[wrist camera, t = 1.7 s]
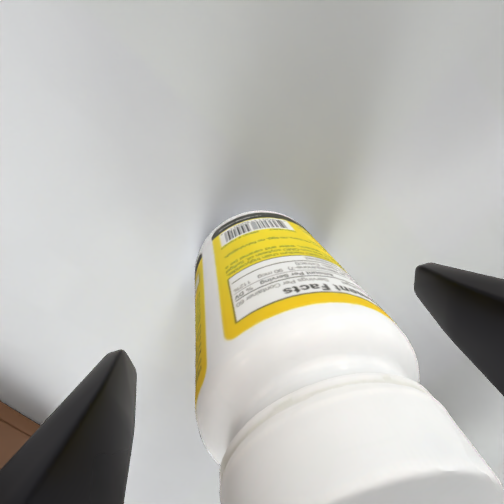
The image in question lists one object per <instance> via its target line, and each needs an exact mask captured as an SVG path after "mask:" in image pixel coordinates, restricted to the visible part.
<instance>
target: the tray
mask: <svg viewBox="0 0 504 504" xmlns="http://www.w3.org/2000/svg"><path fill="white" fill-rule="evenodd" d="M39 427H40V425H39V424H37V423H35V422H34V421H32V420H30V419H29V418H27V417H26V416H24V415H22V414H21V413H19V412H17V411H16V410H14V409H12V408H11V407H9V406H8V405H6V404H4V403H3V402H1V401H0V469H1V468H2V467H3V466H4V465H5V464H6V463H7V462H8V461H9V460H10V459H11V458H12V457H13V455H14V454H15V453H16V452H17V451H18V450H19V449H20V448H21V447H22V446H23V445H24V444H25V442H26V441H27V440H28V439H29V438H30V437H31V436H32V435H33V434H34V433H35V432H36V431H37V429H38V428H39Z"/></svg>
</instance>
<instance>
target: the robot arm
mask: <svg viewBox="0 0 504 504" xmlns="http://www.w3.org/2000/svg"><path fill="white" fill-rule="evenodd" d="M414 290H415V293H416V295H417V297H418V298H419V299H420V301H421V302H422V303H423V304H424V306H425V307H426V308H427V310H428V311H429V312H430V314H431V315H432V316H433V318H434V319H435V320H436V321H437V323H438V324H439V325H440V327H441V328H442V329H443V331H444V332H445V333H446V334H447V335H448V337H449V338H450V339H451V340H452V341H453V342H454V343H455V344H456V345H457V346H458V348H459V349H460V350H461V351H462V352H463V353H464V354H465V355H466V356H467V357H468V358H469V359H470V360H471V361H472V363H473V364H474V365H475V366H476V367H477V368H478V369H479V370H480V371H481V372H482V373H483V374H484V375H485V377H486V378H487V379H488V380H489V381H490V382H491V383H492V384H493V385H494V386H495V387H496V388H497V389H498V390H499V392H500V393H501V394H502V395H503V396H504V279H500V278H495V277H491V276H487V275H483V274H478V273H474V272H470V271H465V270H461V269H457V268H452V267H448V266H444V265H439V264H435V263H426V264H423V265H419V266H417V268H416V270H415V281H414ZM136 382H137V373H136V369H135V367H134V365H133V364H132V362H131V360H130V358H129V357H128V355H127V353H126V352H125V351H124V350H117V351H114V352H110V353H108V354H107V355H106V356H105V357H104V358H103V359H102V360H101V361H100V362H99V363H98V364H97V366H96V367H95V368H94V369H93V370H92V371H91V372H90V373H89V374H88V375H87V376H86V377H85V379H84V380H83V381H82V382H81V383H80V384H79V385H78V386H77V387H76V388H75V389H74V390H73V392H72V393H71V394H70V395H69V396H68V397H67V398H66V399H65V400H64V401H63V402H62V403H61V405H60V406H59V407H58V408H57V409H56V410H55V411H54V412H53V413H52V414H51V415H50V416H49V418H48V419H47V420H46V421H45V422H44V423H43V424H42V425H41V426H40V427H39V428H38V429H37V431H36V432H35V433H34V434H33V435H32V436H31V437H30V438H29V439H28V440H27V441H26V442H25V444H24V445H23V446H22V447H21V448H20V449H19V450H18V451H17V452H16V453H15V454H14V455H13V457H12V458H11V459H10V460H9V461H8V462H7V463H6V464H5V465H4V466H3V467H2V468H1V469H0V504H123V503H124V497H125V490H126V483H127V477H128V470H129V463H130V456H131V450H132V443H133V436H134V427H135V406H136Z"/></svg>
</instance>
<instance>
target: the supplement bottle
mask: <svg viewBox="0 0 504 504" xmlns="http://www.w3.org/2000/svg"><path fill="white" fill-rule="evenodd" d="M195 322H196V324H195V330H196V364H195V367H196V380H195V383H196V392H195V410H196V420H197V424H198V428H199V432H200V436H201V438H202V441H203V443H204V445H205V448H206V449H207V451H208V452H209V454H210V455H211V456H212V458H213V459H214V460H215V461H216V462H217V463H218V464H219V465H220V472H219V473H220V502H221V504H504V488H503V486H502V484H501V482H500V481H499V479H498V477H497V476H496V475H495V473H494V472H493V471H492V469H491V468H490V467H489V465H488V464H487V463H486V462H485V460H484V459H483V458H482V456H481V455H480V454H479V453H478V451H477V450H476V449H475V447H474V446H473V445H472V444H471V442H470V441H469V440H468V438H467V437H466V436H465V435H464V433H463V432H462V431H461V429H460V428H459V427H458V426H457V424H456V423H455V422H454V420H453V419H452V417H451V416H450V414H449V413H448V411H447V410H446V409H445V407H444V406H443V405H442V404H441V403H440V402H439V401H437V400H436V399H435V398H434V397H433V396H432V395H431V393H430V392H429V391H428V390H426V389H425V388H424V387H423V386H422V385H420V384H419V382H420V378H419V366H418V361H417V357H416V355H415V352H414V350H413V348H412V346H411V344H410V342H409V340H408V339H407V337H406V336H405V335H404V333H403V332H402V331H401V329H400V328H399V327H398V326H397V324H396V323H395V322H394V321H393V320H392V319H391V318H390V317H389V316H388V315H387V314H386V313H385V312H384V311H383V310H382V309H381V308H380V307H379V306H378V305H377V304H376V302H375V301H374V300H373V299H372V298H371V297H370V296H369V295H368V294H367V293H366V292H365V291H364V290H363V289H362V288H361V287H360V286H359V285H358V284H357V283H356V282H355V280H354V279H353V278H352V277H351V276H350V275H349V274H348V273H347V272H346V271H345V270H344V269H343V268H342V267H341V266H340V265H339V264H338V263H337V262H336V261H335V260H334V259H333V257H332V256H331V255H330V254H329V253H328V252H327V251H326V250H325V249H324V248H323V247H322V246H321V245H320V244H319V243H318V242H317V241H316V240H315V239H314V238H313V237H312V236H311V234H310V233H309V232H308V231H307V230H306V229H305V228H304V227H303V226H301V225H300V224H299V223H298V222H296V221H295V220H293V219H292V218H290V217H288V216H286V215H283V214H280V213H277V212H272V211H261V210H259V211H250V212H245V213H241V214H238V215H236V216H233V217H231V218H229V219H227V220H226V221H224V222H223V223H221V224H220V225H219V226H217V227H216V228H215V229H214V230H213V231H212V232H211V233H210V234H209V236H208V237H207V238H206V240H205V241H204V243H203V245H202V247H201V249H200V251H199V254H198V257H197V260H196V265H195Z"/></svg>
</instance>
